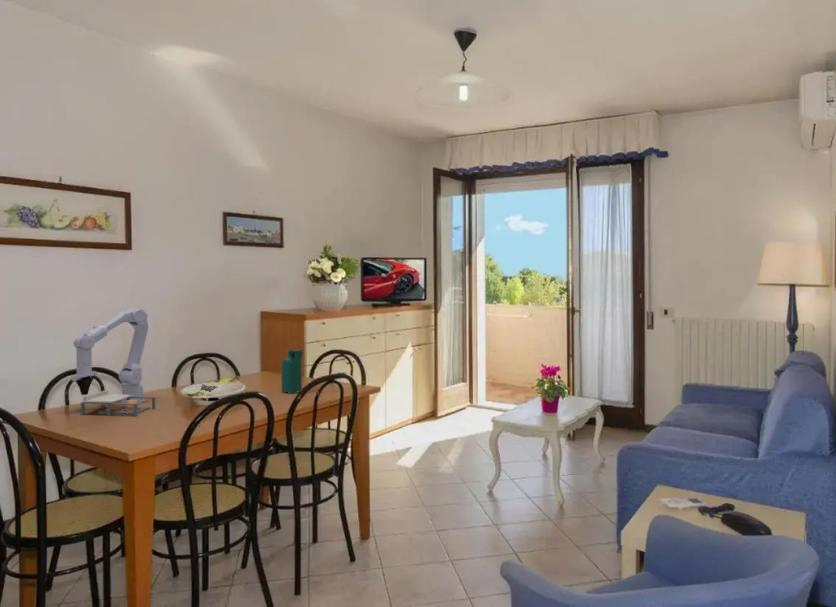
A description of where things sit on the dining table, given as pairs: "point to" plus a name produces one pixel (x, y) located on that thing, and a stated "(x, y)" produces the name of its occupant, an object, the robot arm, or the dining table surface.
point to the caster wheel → (208, 388)
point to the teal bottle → (292, 371)
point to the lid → (104, 397)
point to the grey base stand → (123, 411)
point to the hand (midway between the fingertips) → (84, 394)
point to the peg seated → (116, 406)
